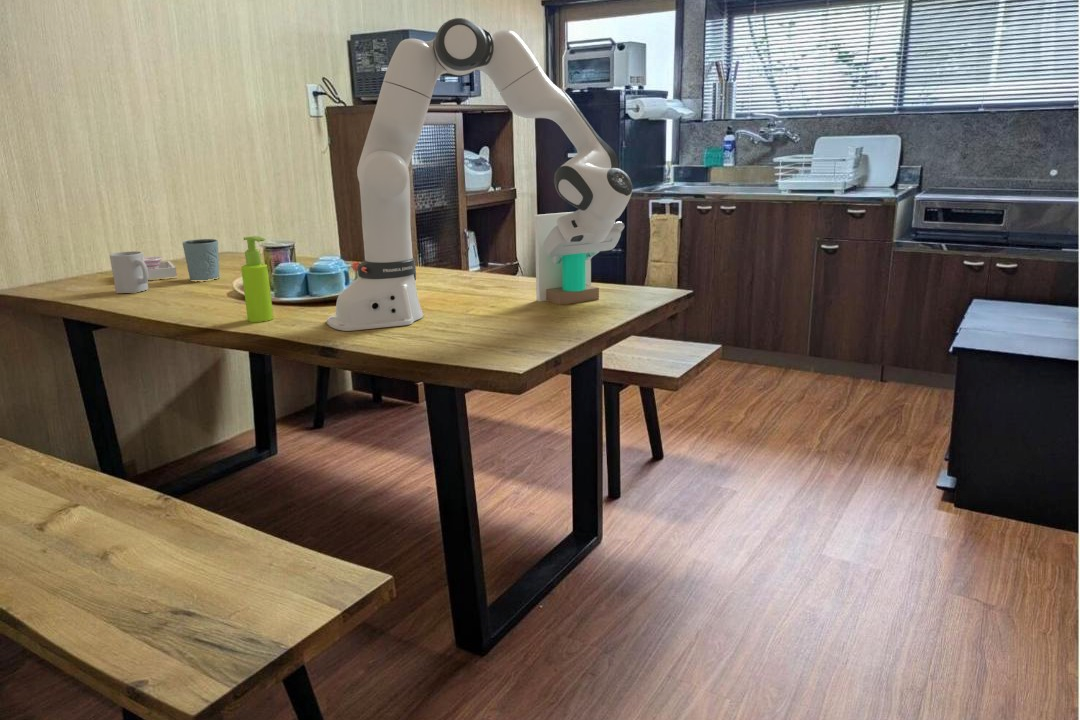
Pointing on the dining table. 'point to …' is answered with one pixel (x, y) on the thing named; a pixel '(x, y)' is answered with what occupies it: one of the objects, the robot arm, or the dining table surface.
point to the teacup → (152, 262)
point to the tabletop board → (556, 268)
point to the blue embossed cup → (202, 258)
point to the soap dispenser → (256, 284)
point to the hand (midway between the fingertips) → (571, 259)
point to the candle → (573, 272)
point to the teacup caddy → (163, 271)
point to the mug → (129, 272)
